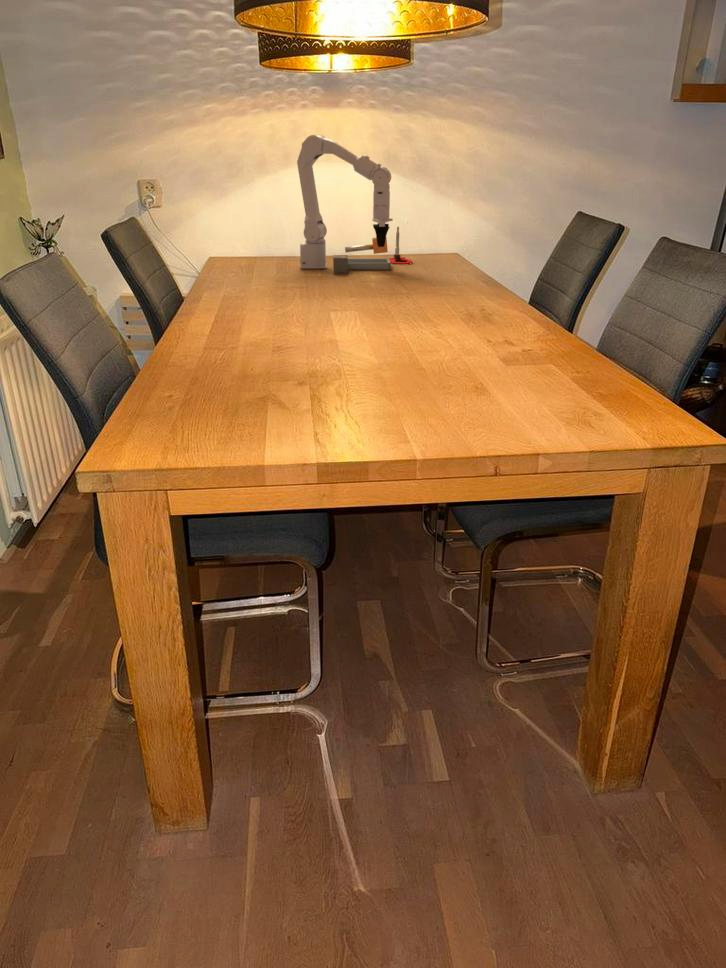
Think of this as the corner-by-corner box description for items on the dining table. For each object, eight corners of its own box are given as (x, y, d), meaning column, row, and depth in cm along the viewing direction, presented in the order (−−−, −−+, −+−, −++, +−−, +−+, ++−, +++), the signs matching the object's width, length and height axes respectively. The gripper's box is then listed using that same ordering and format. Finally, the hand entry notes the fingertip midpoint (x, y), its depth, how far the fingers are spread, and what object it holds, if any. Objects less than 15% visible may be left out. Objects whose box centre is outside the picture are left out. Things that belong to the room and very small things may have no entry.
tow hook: (415, 265, 280) (406, 260, 288) (417, 229, 274) (407, 225, 282) (395, 266, 278) (386, 261, 285) (396, 230, 272) (386, 226, 279)
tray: (335, 270, 267) (334, 263, 266) (335, 265, 277) (335, 258, 275) (390, 270, 267) (390, 263, 266) (388, 265, 277) (388, 258, 276)
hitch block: (333, 273, 260) (333, 258, 257) (333, 270, 266) (333, 255, 264) (347, 273, 260) (347, 258, 258) (347, 270, 266) (347, 255, 264)
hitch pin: (346, 257, 264) (344, 242, 262) (346, 255, 268) (344, 241, 265) (387, 252, 264) (386, 237, 262) (387, 250, 267) (385, 236, 265)
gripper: (394, 207, 252) (393, 248, 258) (391, 203, 265) (390, 243, 271) (373, 207, 252) (372, 248, 258) (372, 203, 265) (371, 243, 271)
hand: (380, 245), depth 265 cm, fingers closed on hitch pin, 4 cm apart
